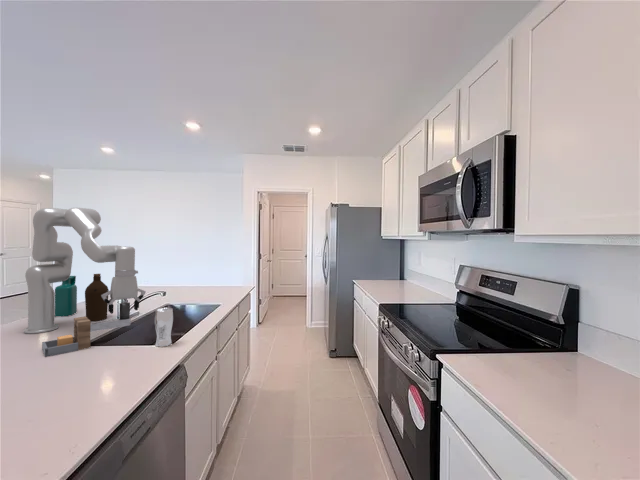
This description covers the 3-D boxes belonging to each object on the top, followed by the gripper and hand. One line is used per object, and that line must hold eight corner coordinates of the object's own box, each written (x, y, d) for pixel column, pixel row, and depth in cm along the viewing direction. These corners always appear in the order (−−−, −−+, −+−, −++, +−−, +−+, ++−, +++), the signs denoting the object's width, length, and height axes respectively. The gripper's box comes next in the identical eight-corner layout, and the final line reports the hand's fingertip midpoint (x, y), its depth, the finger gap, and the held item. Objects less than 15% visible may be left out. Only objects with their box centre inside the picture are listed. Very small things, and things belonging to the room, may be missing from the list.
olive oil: (112, 318, 171) (112, 273, 171) (90, 323, 162) (90, 275, 162) (102, 315, 176) (103, 272, 176) (80, 320, 167) (81, 274, 167)
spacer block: (71, 345, 128) (57, 347, 124) (71, 334, 128) (57, 336, 124) (72, 347, 125) (58, 350, 121) (73, 336, 124) (58, 339, 121)
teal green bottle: (70, 316, 175) (71, 277, 175) (53, 317, 173) (53, 277, 172) (79, 312, 184) (79, 275, 184) (62, 312, 182) (62, 275, 182)
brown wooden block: (73, 343, 130) (73, 318, 130) (85, 341, 133) (85, 316, 133) (78, 350, 123) (78, 322, 123) (90, 347, 126) (90, 320, 126)
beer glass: (167, 347, 127) (167, 311, 127) (150, 347, 128) (151, 311, 128) (175, 341, 134) (176, 307, 134) (160, 341, 135) (160, 307, 135)
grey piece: (76, 332, 129) (76, 308, 129) (128, 323, 142) (128, 301, 142) (78, 334, 126) (78, 310, 126) (130, 325, 140) (131, 303, 140)
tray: (42, 349, 123) (42, 342, 123) (73, 343, 131) (73, 336, 131) (45, 357, 116) (45, 349, 116) (78, 350, 123) (78, 342, 123)
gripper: (143, 271, 148) (142, 307, 149) (99, 274, 136) (99, 312, 136) (148, 273, 143) (147, 310, 143) (104, 276, 131) (103, 316, 131)
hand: (123, 311), depth 140 cm, fingers open, 9 cm apart
